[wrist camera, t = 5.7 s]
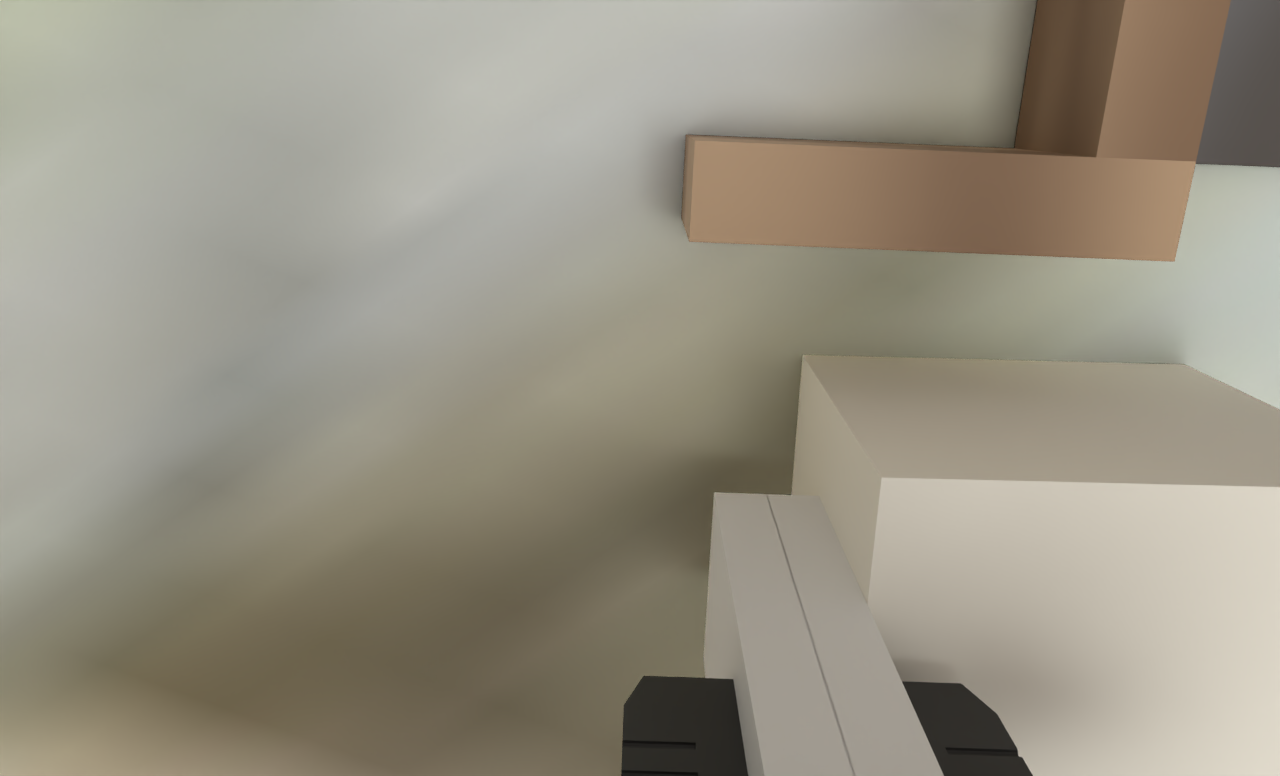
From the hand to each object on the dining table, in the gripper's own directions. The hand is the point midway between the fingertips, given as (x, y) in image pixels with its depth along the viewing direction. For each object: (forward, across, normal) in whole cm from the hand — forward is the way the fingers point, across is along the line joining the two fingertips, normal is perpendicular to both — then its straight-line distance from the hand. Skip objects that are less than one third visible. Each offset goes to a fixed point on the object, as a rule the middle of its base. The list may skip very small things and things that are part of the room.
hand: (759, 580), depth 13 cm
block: (+2, +4, 0) cm, 4 cm away
